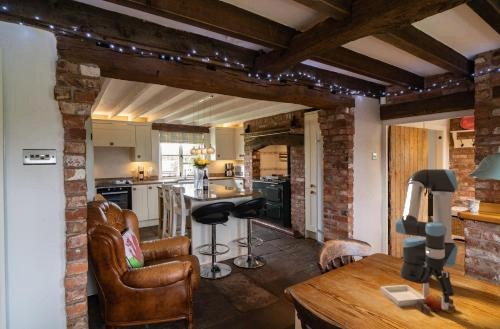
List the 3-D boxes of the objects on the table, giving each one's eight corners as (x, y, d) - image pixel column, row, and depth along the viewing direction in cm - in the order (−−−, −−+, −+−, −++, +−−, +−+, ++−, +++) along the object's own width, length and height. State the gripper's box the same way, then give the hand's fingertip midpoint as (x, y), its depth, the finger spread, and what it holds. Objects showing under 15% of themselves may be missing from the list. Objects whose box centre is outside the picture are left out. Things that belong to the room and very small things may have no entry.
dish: (406, 290, 151) (406, 284, 151) (427, 304, 136) (427, 298, 136) (380, 292, 150) (380, 286, 150) (398, 307, 135) (398, 300, 135)
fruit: (417, 302, 136) (425, 288, 136) (430, 310, 136) (438, 295, 136) (429, 311, 128) (438, 296, 128) (443, 319, 128) (452, 304, 128)
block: (446, 304, 136) (446, 295, 136) (456, 311, 130) (456, 301, 130) (414, 307, 134) (414, 298, 134) (424, 314, 128) (423, 304, 128)
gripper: (410, 248, 142) (410, 291, 143) (448, 266, 120) (448, 317, 120) (423, 247, 144) (423, 289, 144) (464, 265, 121) (464, 315, 122)
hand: (434, 302), depth 132 cm, fingers open, 10 cm apart
